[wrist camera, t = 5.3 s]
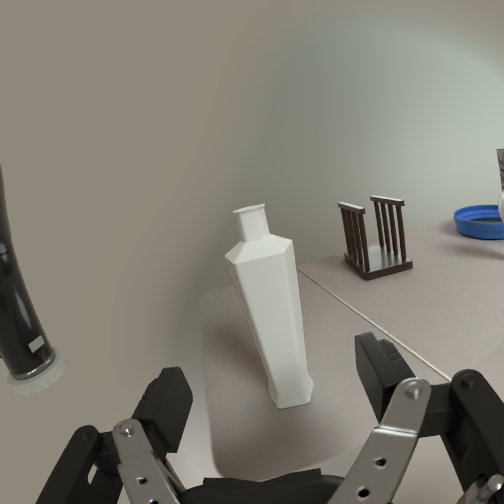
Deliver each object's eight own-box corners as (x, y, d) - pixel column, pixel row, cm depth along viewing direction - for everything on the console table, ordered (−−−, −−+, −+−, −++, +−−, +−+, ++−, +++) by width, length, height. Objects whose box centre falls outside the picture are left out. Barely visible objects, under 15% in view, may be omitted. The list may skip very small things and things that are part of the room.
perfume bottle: (271, 375, 24) (227, 209, 20) (319, 374, 22) (286, 197, 19) (256, 411, 19) (197, 222, 16) (311, 412, 18) (269, 206, 14)
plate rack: (412, 268, 37) (406, 199, 35) (366, 280, 38) (356, 209, 36) (383, 249, 49) (375, 195, 46) (344, 258, 49) (335, 203, 47)
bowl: (444, 238, 45) (443, 220, 44) (465, 218, 53) (464, 204, 52) (524, 244, 29) (524, 224, 29) (526, 221, 38) (526, 205, 37)
